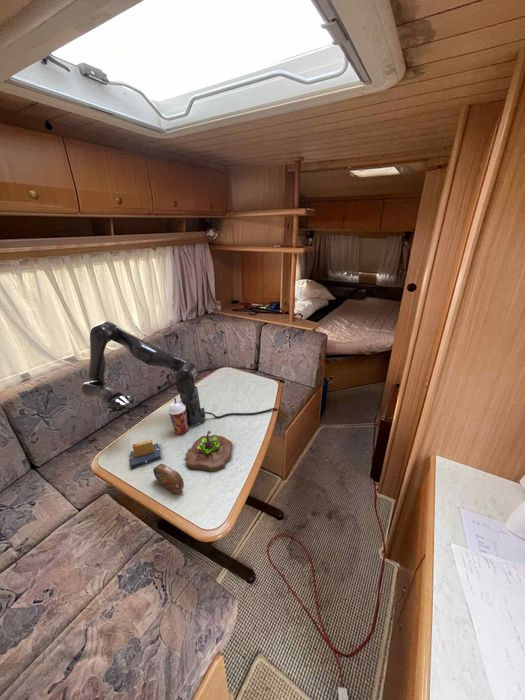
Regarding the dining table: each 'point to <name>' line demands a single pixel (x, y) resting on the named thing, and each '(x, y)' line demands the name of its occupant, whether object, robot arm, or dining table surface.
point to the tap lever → (143, 448)
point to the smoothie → (178, 416)
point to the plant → (209, 453)
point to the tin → (168, 478)
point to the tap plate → (145, 457)
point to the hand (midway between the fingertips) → (132, 408)
